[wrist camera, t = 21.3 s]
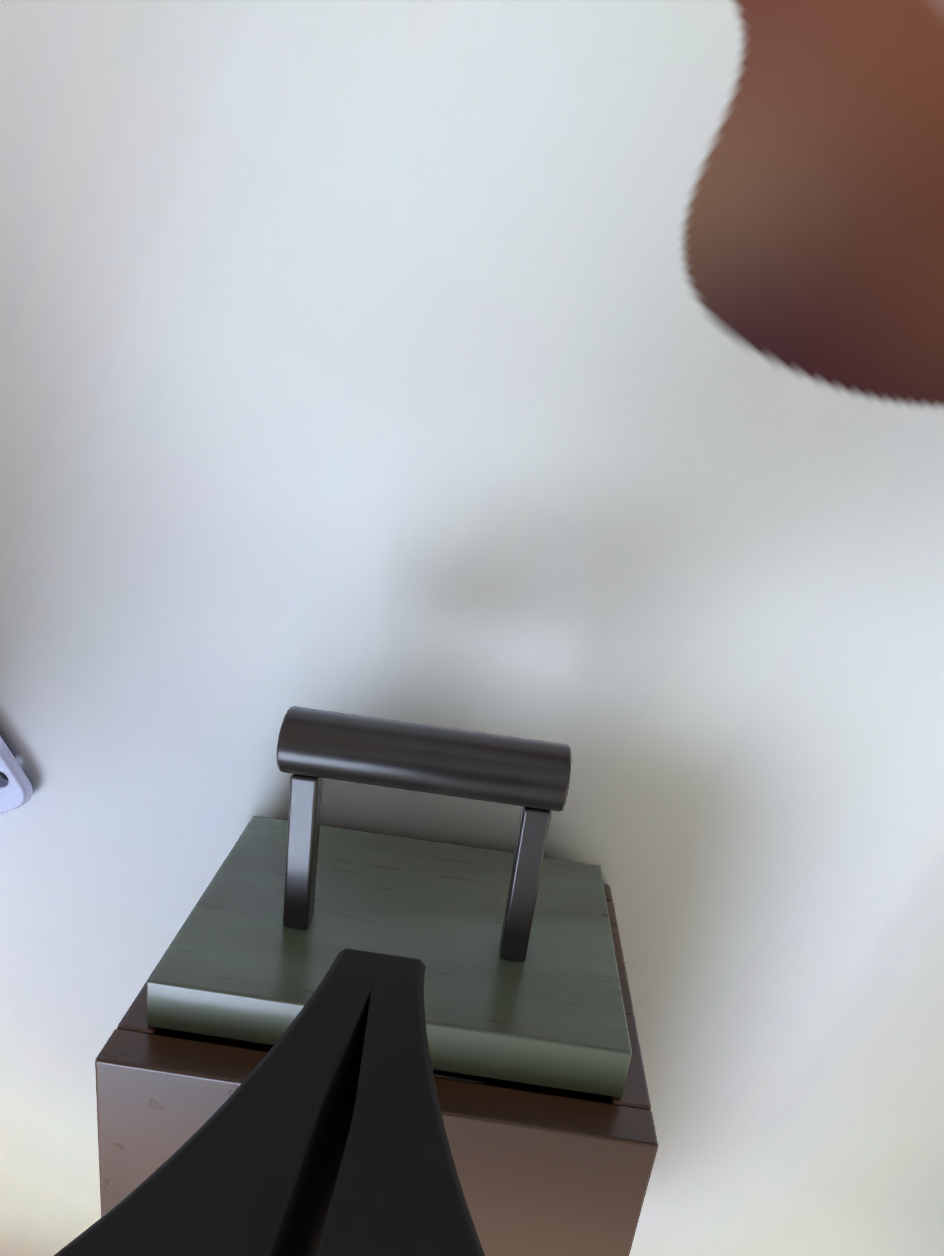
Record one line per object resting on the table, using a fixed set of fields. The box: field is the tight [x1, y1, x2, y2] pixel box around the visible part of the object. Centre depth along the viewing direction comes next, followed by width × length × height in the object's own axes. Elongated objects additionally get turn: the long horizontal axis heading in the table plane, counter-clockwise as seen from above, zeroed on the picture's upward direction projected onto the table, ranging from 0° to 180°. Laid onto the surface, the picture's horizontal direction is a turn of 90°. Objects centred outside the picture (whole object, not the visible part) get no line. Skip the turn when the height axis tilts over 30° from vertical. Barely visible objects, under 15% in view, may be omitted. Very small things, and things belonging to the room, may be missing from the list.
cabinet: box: [95, 884, 658, 1256], centre depth 20 cm, size 14×11×8 cm
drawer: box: [147, 706, 632, 1098], centre depth 19 cm, size 18×10×6 cm, turn 173°
